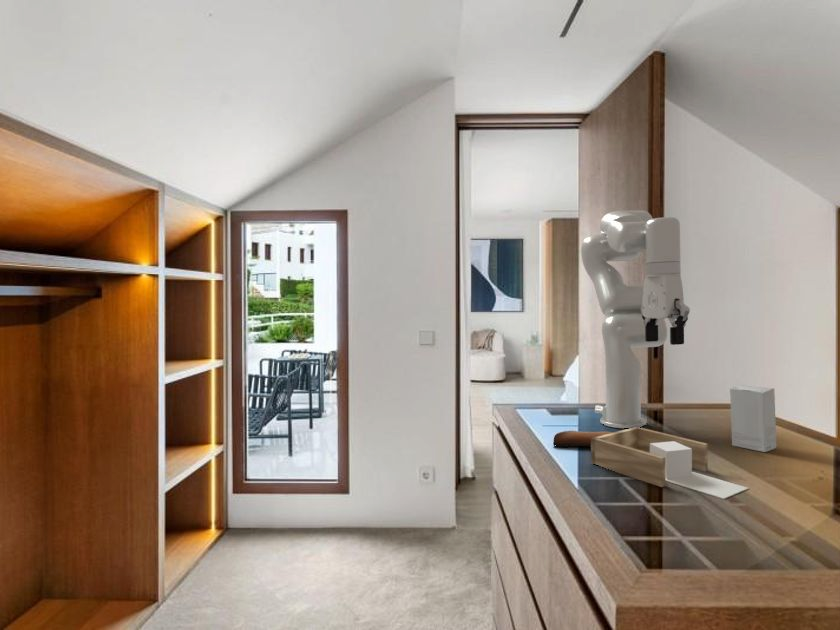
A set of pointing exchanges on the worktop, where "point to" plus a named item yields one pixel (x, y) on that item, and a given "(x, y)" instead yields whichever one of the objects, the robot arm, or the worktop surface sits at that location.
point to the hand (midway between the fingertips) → (664, 342)
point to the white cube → (674, 458)
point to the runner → (708, 485)
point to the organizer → (641, 453)
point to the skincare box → (753, 418)
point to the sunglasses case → (576, 438)
